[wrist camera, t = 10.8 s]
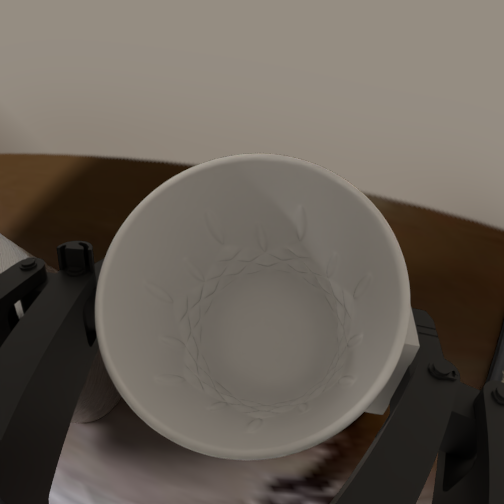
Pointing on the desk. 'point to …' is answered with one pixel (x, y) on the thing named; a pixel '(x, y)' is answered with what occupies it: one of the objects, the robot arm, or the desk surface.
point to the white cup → (252, 306)
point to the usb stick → (498, 361)
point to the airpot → (98, 380)
